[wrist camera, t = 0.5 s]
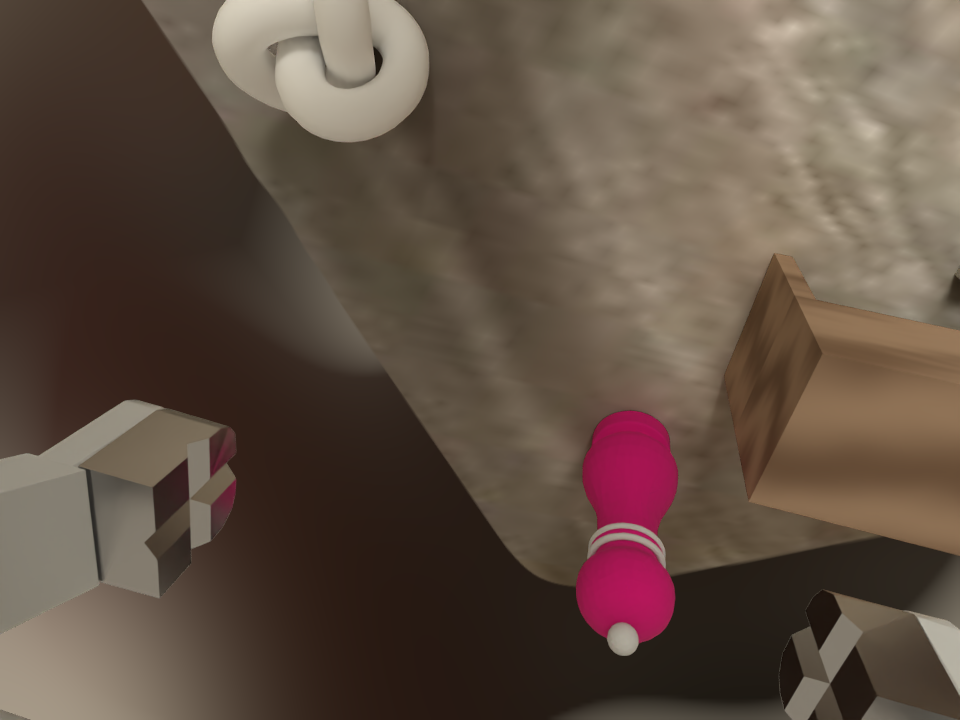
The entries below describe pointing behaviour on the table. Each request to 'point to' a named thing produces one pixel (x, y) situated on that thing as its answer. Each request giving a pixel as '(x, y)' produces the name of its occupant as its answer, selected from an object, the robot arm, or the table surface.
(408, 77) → the white knot
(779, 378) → the wooden bench
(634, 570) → the pepper mill
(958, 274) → the block
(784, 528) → the table surface
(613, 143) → the table surface
